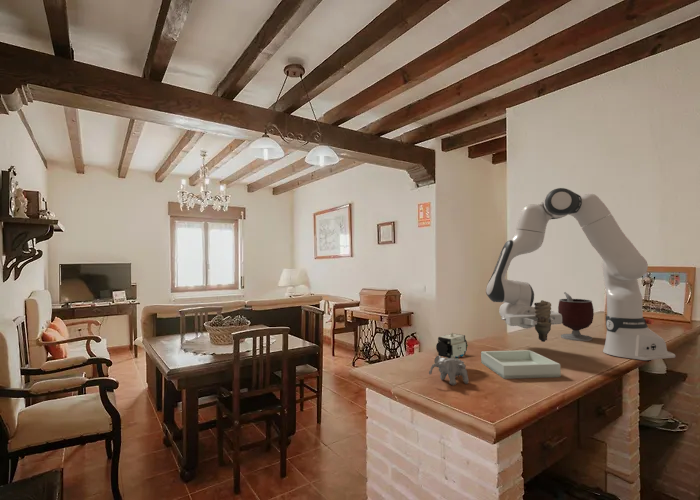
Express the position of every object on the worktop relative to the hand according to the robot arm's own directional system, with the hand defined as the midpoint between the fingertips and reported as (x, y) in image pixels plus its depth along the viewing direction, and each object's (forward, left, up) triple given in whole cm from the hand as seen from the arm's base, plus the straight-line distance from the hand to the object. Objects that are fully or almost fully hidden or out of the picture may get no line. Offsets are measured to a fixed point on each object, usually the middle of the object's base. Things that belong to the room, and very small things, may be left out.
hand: (544, 322), depth 137 cm
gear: (+29, -11, -14) cm, 34 cm away
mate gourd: (-35, -36, -14) cm, 52 cm away
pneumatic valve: (+35, +6, -14) cm, 38 cm away
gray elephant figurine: (+41, +20, -14) cm, 48 cm away
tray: (+14, +9, -14) cm, 22 cm away
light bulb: (0, -1, -7) cm, 7 cm away
